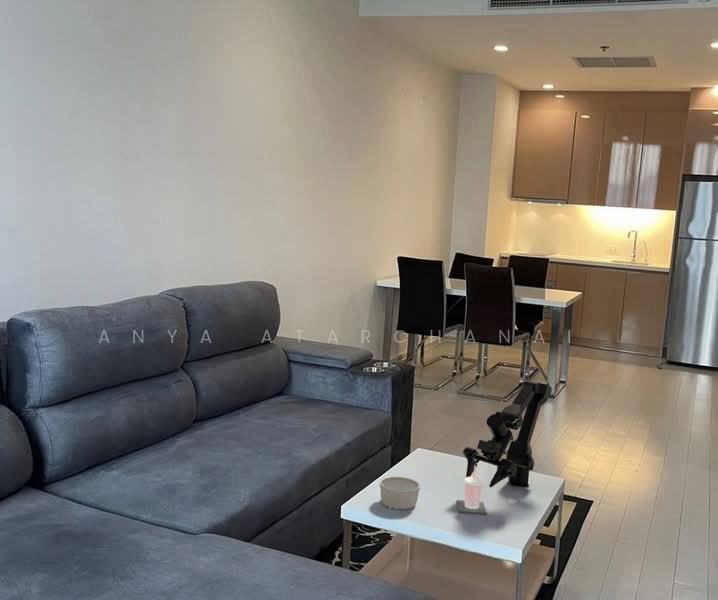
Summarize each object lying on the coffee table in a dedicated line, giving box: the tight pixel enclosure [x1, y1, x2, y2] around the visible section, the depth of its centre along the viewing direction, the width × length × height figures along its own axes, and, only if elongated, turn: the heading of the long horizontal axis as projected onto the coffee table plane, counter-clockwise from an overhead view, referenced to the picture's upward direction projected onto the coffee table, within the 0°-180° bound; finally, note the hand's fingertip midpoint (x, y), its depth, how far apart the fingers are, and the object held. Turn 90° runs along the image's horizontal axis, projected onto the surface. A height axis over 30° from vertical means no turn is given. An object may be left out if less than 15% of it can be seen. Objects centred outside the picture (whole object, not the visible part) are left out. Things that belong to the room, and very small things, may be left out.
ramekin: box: [379, 476, 421, 510], centre depth 241 cm, size 13×13×7 cm
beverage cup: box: [464, 465, 484, 509], centre depth 241 cm, size 6×6×14 cm
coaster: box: [455, 499, 488, 516], centre depth 242 cm, size 9×9×1 cm
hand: (478, 482), depth 243 cm, fingers open, 9 cm apart
